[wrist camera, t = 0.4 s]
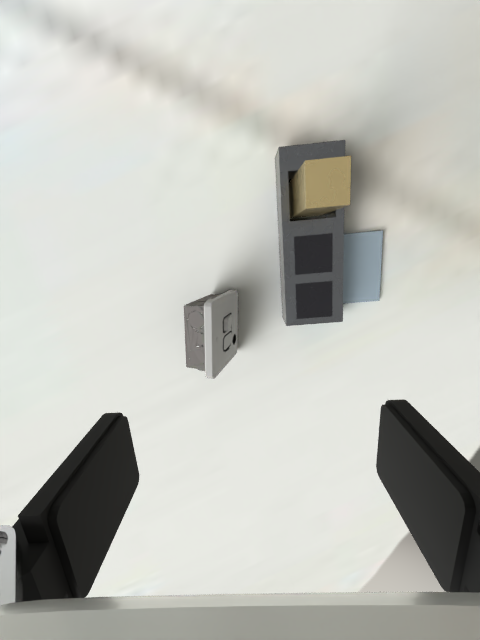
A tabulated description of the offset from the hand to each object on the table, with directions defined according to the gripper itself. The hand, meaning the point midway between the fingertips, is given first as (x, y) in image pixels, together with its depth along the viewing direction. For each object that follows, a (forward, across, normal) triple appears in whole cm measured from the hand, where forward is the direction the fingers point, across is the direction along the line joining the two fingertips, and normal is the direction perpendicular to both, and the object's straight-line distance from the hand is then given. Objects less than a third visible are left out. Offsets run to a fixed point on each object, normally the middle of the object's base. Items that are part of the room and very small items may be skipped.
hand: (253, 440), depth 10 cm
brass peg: (+29, -8, -12) cm, 32 cm away
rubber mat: (+29, -15, -3) cm, 32 cm away
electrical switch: (+29, +4, +4) cm, 29 cm away
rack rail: (+29, -8, -7) cm, 30 cm away
